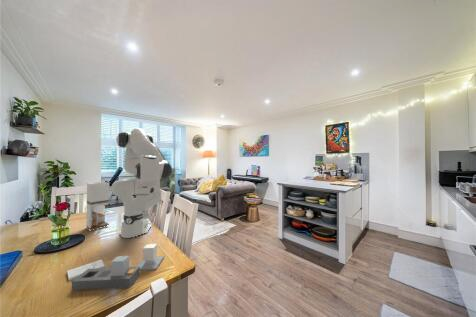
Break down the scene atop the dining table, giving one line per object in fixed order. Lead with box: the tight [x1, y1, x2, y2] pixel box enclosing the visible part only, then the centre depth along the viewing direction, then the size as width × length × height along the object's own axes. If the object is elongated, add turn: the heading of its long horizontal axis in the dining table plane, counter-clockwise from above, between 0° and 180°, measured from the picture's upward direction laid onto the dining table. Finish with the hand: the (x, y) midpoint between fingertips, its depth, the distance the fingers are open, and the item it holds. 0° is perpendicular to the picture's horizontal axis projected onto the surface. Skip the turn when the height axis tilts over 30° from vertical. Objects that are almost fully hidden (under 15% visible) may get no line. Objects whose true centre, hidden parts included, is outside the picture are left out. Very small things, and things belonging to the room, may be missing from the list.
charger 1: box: [110, 255, 130, 276], centre depth 72 cm, size 4×5×6 cm
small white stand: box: [85, 181, 110, 230], centre depth 134 cm, size 11×11×35 cm
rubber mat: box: [135, 256, 165, 272], centre depth 85 cm, size 10×10×1 cm
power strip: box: [71, 266, 141, 292], centre depth 72 cm, size 8×22×4 cm, turn 94°
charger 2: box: [142, 243, 158, 264], centre depth 85 cm, size 4×5×8 cm
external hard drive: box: [66, 259, 106, 282], centre depth 80 cm, size 2×8×12 cm
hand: (150, 215), depth 85 cm, fingers open, 8 cm apart
